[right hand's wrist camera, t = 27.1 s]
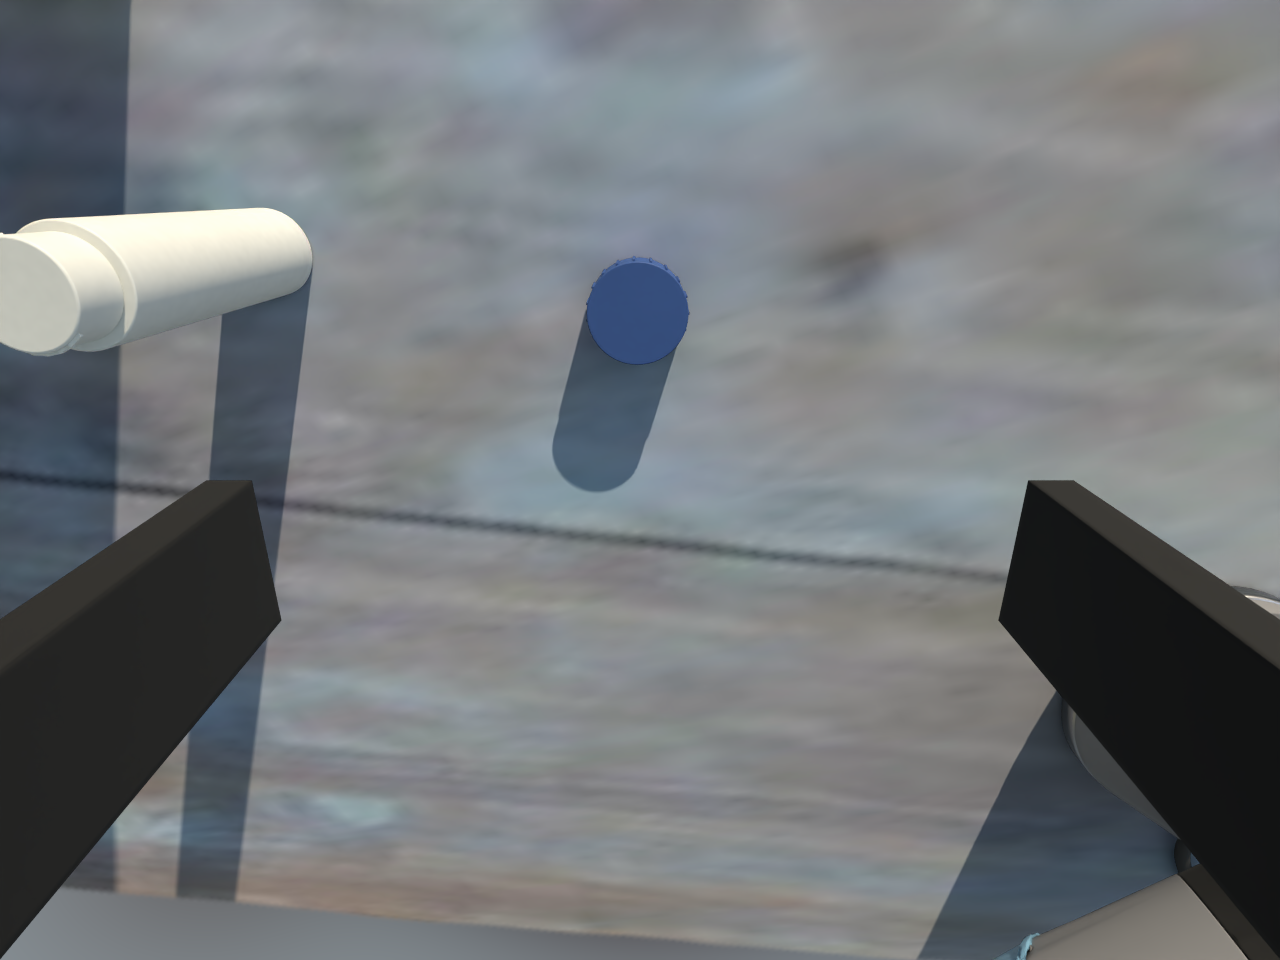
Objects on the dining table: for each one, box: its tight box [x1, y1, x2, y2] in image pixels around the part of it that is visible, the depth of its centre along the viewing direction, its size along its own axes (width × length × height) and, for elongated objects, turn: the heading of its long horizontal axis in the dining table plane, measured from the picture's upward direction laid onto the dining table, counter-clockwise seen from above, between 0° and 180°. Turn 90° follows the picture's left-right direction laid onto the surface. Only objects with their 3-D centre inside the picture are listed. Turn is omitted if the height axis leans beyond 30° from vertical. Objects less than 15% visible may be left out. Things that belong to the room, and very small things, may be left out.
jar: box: [0, 208, 312, 357], centre depth 29 cm, size 4×4×16 cm
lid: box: [586, 256, 689, 365], centre depth 36 cm, size 5×5×2 cm
